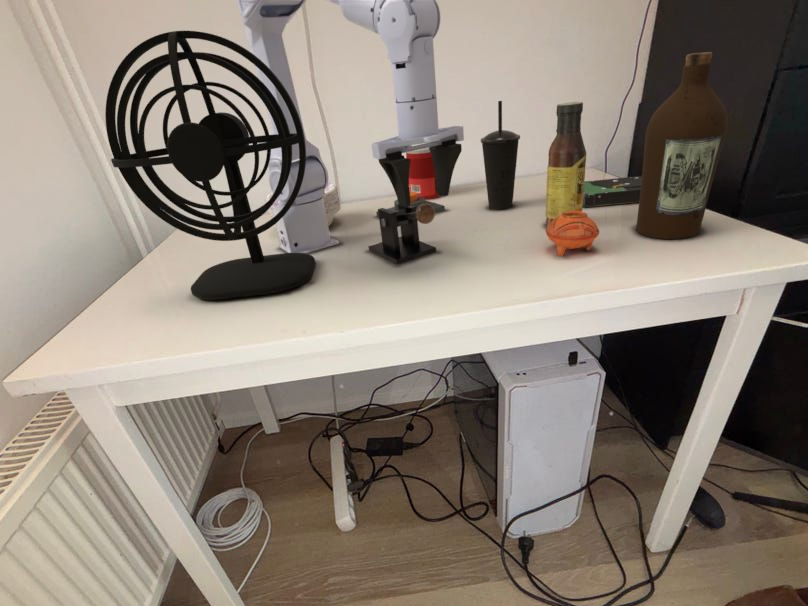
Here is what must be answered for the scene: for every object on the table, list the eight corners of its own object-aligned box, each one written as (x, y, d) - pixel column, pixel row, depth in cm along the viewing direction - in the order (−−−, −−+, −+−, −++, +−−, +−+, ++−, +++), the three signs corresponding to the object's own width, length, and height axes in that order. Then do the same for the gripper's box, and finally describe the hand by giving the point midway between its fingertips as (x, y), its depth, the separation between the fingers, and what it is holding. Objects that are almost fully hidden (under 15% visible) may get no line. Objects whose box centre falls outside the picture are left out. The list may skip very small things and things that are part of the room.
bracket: (436, 252, 84) (433, 207, 80) (397, 265, 81) (391, 219, 76) (405, 240, 91) (401, 197, 87) (368, 251, 88) (362, 208, 84)
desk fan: (154, 315, 74) (39, 44, 56) (192, 272, 89) (111, 47, 71) (328, 295, 73) (270, 13, 55) (337, 254, 88) (294, 22, 70)
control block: (397, 225, 100) (396, 210, 98) (376, 217, 107) (374, 203, 105) (445, 211, 105) (444, 197, 103) (422, 204, 111) (420, 191, 110)
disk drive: (642, 189, 103) (570, 195, 104) (644, 175, 101) (571, 181, 103) (662, 201, 94) (583, 208, 95) (664, 186, 93) (584, 193, 94)
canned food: (443, 198, 114) (440, 148, 108) (410, 201, 115) (405, 152, 109) (442, 190, 120) (439, 142, 115) (410, 193, 121) (405, 146, 115)
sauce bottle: (582, 229, 85) (593, 103, 75) (545, 231, 87) (551, 107, 76) (578, 218, 91) (588, 99, 80) (544, 220, 92) (549, 103, 81)
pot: (531, 248, 80) (541, 205, 77) (571, 249, 82) (582, 208, 79) (560, 261, 73) (571, 215, 70) (602, 262, 75) (615, 218, 72)
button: (406, 205, 102) (405, 197, 101) (398, 202, 105) (397, 194, 104) (420, 201, 104) (420, 193, 103) (411, 198, 106) (411, 190, 105)
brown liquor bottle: (625, 222, 86) (648, 57, 73) (691, 218, 84) (726, 48, 71) (641, 243, 77) (669, 59, 64) (714, 239, 75) (760, 48, 62)
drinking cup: (475, 207, 104) (472, 103, 94) (504, 200, 107) (505, 97, 96) (495, 214, 98) (494, 104, 88) (526, 206, 101) (529, 98, 90)
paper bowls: (260, 239, 102) (249, 201, 98) (295, 217, 114) (287, 182, 110) (324, 239, 97) (316, 199, 93) (354, 216, 109) (348, 180, 105)
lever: (440, 220, 75) (436, 200, 74) (424, 225, 74) (419, 205, 73) (403, 225, 85) (399, 208, 84) (388, 229, 84) (384, 212, 83)
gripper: (384, 108, 61) (397, 216, 68) (475, 92, 66) (478, 193, 74) (359, 107, 66) (373, 207, 73) (445, 92, 72) (450, 187, 79)
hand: (424, 200), depth 74 cm, fingers open, 6 cm apart
